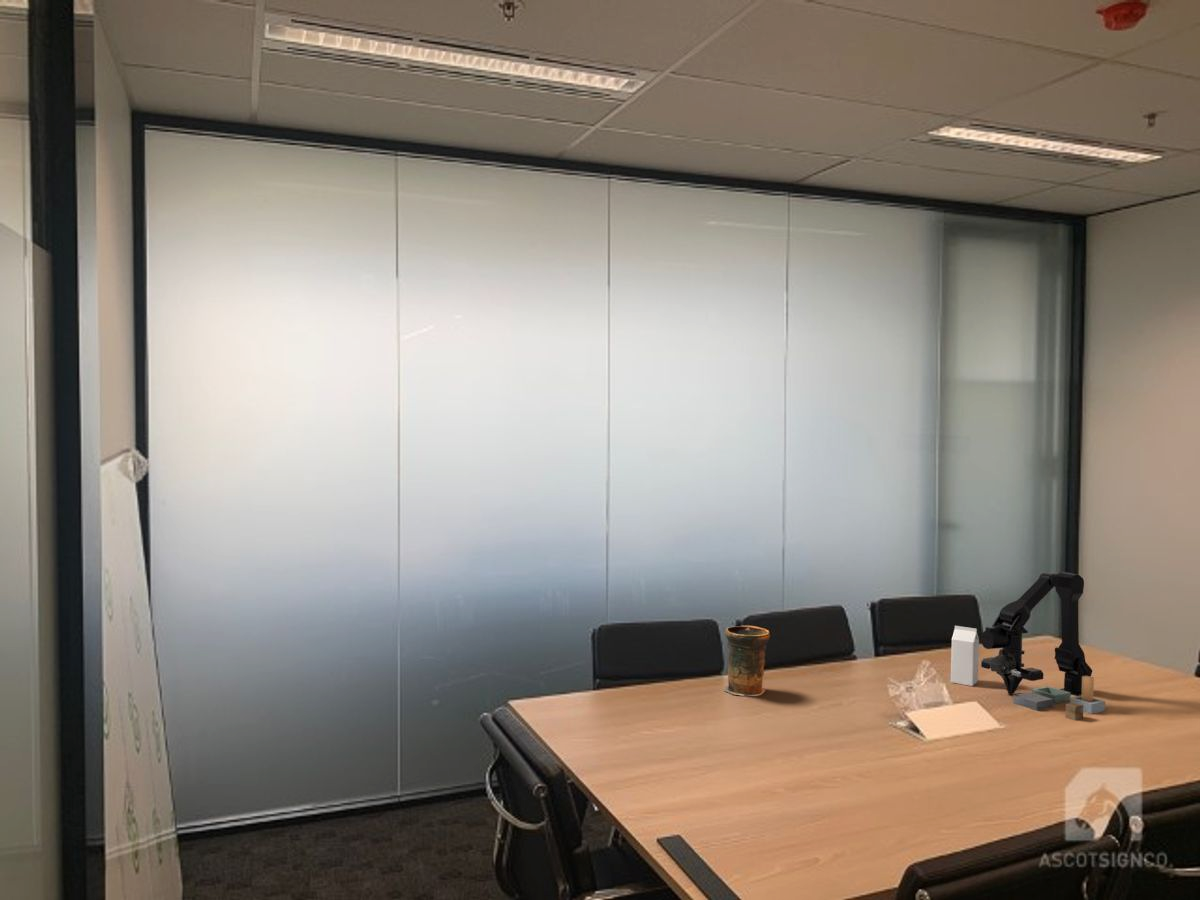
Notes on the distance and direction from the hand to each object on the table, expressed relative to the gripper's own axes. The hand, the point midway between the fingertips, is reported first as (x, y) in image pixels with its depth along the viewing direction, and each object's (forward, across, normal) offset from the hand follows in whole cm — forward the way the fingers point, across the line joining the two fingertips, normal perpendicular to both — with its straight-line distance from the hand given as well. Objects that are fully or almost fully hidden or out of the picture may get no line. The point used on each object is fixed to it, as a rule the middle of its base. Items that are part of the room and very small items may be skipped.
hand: (1010, 695), depth 280 cm
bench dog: (+1, +21, 0) cm, 21 cm away
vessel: (+1, -43, -73) cm, 85 cm away
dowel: (+1, +18, +12) cm, 21 cm away
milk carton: (+1, -19, +2) cm, 19 cm away
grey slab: (+1, +8, 0) cm, 8 cm away
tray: (+1, +6, +12) cm, 13 cm away
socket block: (+1, +18, +12) cm, 21 cm away
